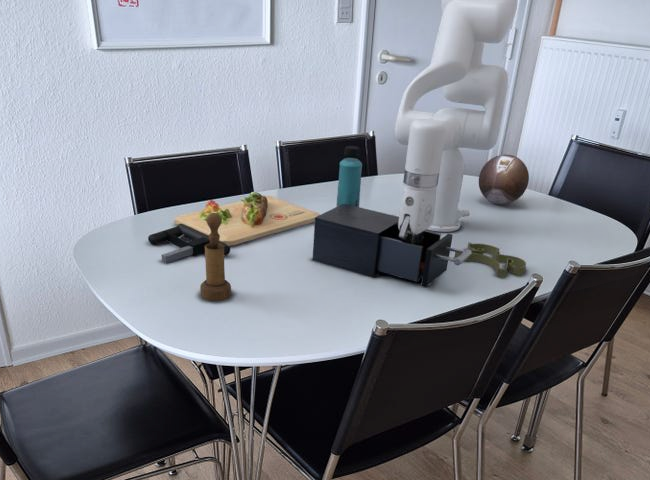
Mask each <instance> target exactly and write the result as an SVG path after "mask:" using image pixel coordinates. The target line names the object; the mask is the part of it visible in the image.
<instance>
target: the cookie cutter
mask: <svg viewBox="0 0 650 480" xmlns="http://www.w3.org/2000/svg"><path fill="white" fill-rule="evenodd" d="M466 250H471V252H472V254H471V256H470V257H468V258H467V259H466V260H465V261H464V262H473V263H480V264H484V265H488V266H490V267H491V268H493V269H494V270H495V271H496V277H499V278H504V277H505V276H506V275H507V272H508V273H510V274H512V275H515V276H518V277H521V276H522V275H524V273H525V270H526V266H527V261H525V260H524V259H523V258H520V257H517V256H513V255H508V254H500V252H501V251H500V247H497V246H494V245H491V244H485V243H472V242H468V243H467V248H466ZM485 253H486V254H491V255H493V257H494V258H493V257H492V256H491V257H490V256H488V255H485ZM460 255H461V253H457V252H454V257H453V258H454V259H456V258H457V257H458V256H460ZM501 263H503V264H505V266H504V268H501Z"/></svg>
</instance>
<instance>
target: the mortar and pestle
mask: <svg viewBox="0 0 650 480" xmlns="http://www.w3.org/2000/svg"><path fill="white" fill-rule="evenodd" d="M221 222H222V219H221V217H220V215H219V214H217V213H210V214H209V215H208V216H207V224H208V226H209V228H210V230H211V233H210V234H209V240H210V243H209V244H206V245H205V253H204V256H205V259H204V260H205V262H204V263H205V280H204V281H203V282H201V284H200V286H199V287H200V288H199V290H200V291H199V292H200V297H201V298H202V299H203V300H205V301H208V302H223V301H226V300H228V299H229V298H231V296H232V285H231V283H230V282H229V281H228V280H227V279H226V276H225V273H226V271H225V255H224V245H222V244H219V239H220V235H219V234H218V228H219V227H220V225H221Z"/></svg>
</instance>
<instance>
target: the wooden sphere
mask: <svg viewBox="0 0 650 480" xmlns="http://www.w3.org/2000/svg"><path fill="white" fill-rule="evenodd" d="M478 175H479V176H478V188H479V191H480V193H481V194H482V196H483V197H484V198H485V199H486V200H487V201H488V202H490V203H493V204H495V205H509V204H512V203H514V202H515V201H517V200H519V199H520V198H521V197H522V196H523V195H524V194H525V192H526V190H527V188H528V185H529V181H530V173H529V170H528V167H527V166H526V163H525V162H524V161H523V160H522V159H521V158H520V157H517V156H515V155H513V154H499V155H496V156H494V157H492V158H490V159H489V160H488V161H487V162H486V163H484V164H483V166H482V168H481V170H480V171H479V174H478Z"/></svg>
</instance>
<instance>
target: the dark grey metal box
mask: <svg viewBox="0 0 650 480" xmlns="http://www.w3.org/2000/svg"><path fill="white" fill-rule="evenodd" d="M398 223H399V216H397V215H393V214H389V213H384V212H381V211H376V210H371V209H368V208H364V207H360V206H359V207H356V206H352V205H347V204H342V205H340V206H338V207H337V206H335V207H334V208H331V209H330V210H328V211H324V212H323V213H321V214H320V215H319V216H317V217H315V221H314V227H313V228H314V229H313V243H312V244H313V246H312V261H315V262H318V263H322V264H325V265H327V266H328V265H329V266H332V267H335V268H339V269H342V270H346V271H349V272H352V273H356V274H360V275H362V276H367V277H370V278H375V277H376V276H379V274H381V273H382V272H380V271H377V270H376V265H377V256H378V248H379V239H380V236H381V235H382V234H384V233H386V232H387V231H389V230H391V229H392V228H394V227H396V226H397V225H398Z"/></svg>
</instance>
